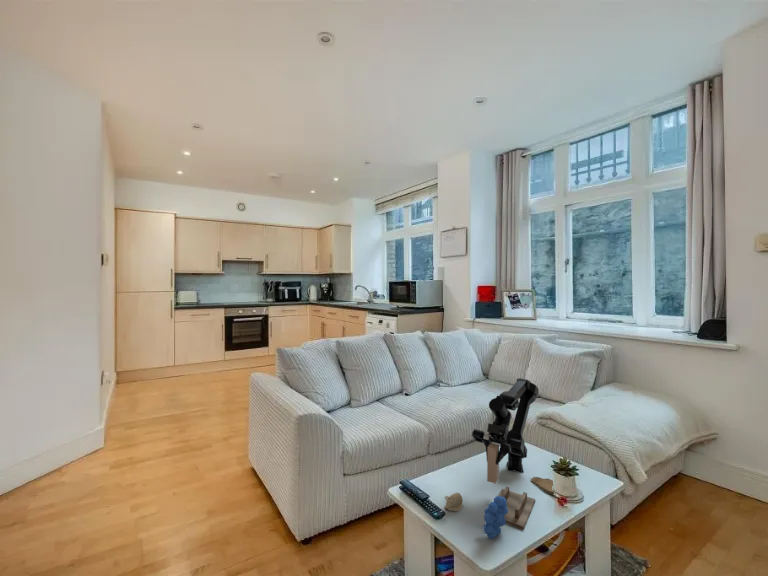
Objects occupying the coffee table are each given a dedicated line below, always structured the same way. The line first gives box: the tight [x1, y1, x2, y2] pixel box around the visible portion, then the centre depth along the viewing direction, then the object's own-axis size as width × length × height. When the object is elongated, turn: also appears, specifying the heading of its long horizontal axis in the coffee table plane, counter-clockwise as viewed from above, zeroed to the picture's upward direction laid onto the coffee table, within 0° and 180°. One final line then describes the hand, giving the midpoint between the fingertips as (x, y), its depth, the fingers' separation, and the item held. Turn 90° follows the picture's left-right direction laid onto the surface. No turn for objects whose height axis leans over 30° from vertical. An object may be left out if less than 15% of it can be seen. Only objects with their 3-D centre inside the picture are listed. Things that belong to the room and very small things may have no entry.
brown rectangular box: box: [486, 442, 500, 485], centre depth 137 cm, size 3×4×13 cm
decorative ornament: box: [443, 492, 464, 512], centre depth 130 cm, size 4×8×5 cm, turn 118°
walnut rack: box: [497, 486, 536, 530], centre depth 130 cm, size 18×12×4 cm, turn 146°
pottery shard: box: [530, 476, 554, 495], centre depth 143 cm, size 8×3×15 cm
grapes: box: [483, 495, 508, 540], centre depth 117 cm, size 12×7×12 cm, turn 131°
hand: (492, 463), depth 136 cm, fingers closed on brown rectangular box, 3 cm apart
